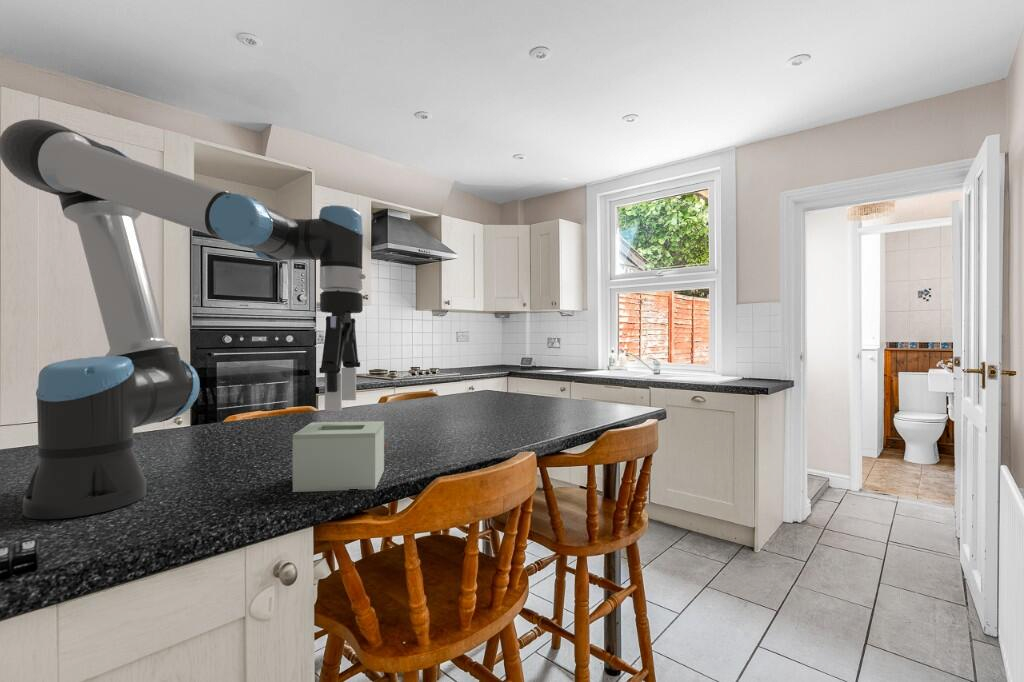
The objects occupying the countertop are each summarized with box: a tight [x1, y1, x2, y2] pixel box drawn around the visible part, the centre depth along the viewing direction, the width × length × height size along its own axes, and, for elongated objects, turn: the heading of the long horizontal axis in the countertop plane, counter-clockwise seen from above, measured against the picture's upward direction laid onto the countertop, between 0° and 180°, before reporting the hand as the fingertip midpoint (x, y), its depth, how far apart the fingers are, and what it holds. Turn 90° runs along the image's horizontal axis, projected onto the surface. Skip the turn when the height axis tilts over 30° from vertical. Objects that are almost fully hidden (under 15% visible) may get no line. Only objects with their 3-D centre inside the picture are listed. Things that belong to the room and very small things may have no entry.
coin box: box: [292, 420, 385, 493], centre depth 93 cm, size 14×12×10 cm
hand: (341, 405), depth 93 cm, fingers open, 13 cm apart
